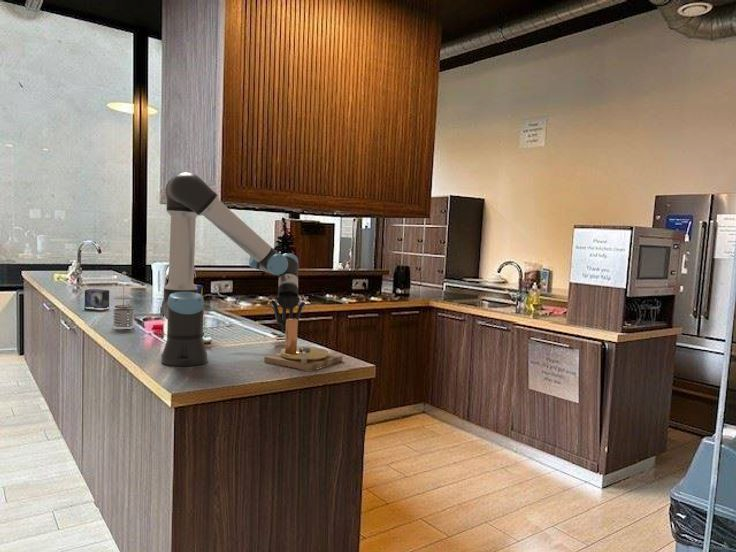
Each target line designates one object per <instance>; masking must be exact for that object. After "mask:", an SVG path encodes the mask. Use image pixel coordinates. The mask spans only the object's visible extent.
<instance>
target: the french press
mask: <svg viewBox="0 0 736 552" xmlns="http://www.w3.org/2000/svg"><path fill="white" fill-rule="evenodd" d="M121 275H127V272H126V271H122V272H121ZM113 299H114V300H122V302H123V303H122V304H120V305H119V304H117V305H114V308H116V309H113V326H116V327H130V326H134V325H133V321H134V320H133V319H134V317H133V316H134V313H135V308H134V304H133V302H132V301H129V302H128V301H126V303H125V302H124V301H125V300H133V299H134V296H133V295H131V294H128V293H125V284H123V291H122V293H119V294H116V295H114V296H113ZM124 303H125V304H124ZM120 324H121V325H120ZM127 324H128V325H129V326H127ZM113 326H112V327H113Z"/></svg>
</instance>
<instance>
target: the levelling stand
mask: <svg viewBox="0 0 736 552" xmlns="http://www.w3.org/2000/svg"><path fill="white" fill-rule="evenodd" d="M280 354H281V352H278V353H273V354H269V355H266V356H264V363H266V364H267V363H268V364H270V363H271V365H275V364H276V365H277V366H280V365H282V366H281V367H285V366H288V367H287V368H290V367H294V368H293V369H295V368H299V369H298V370H300V369H303V370H302V371H305V370H309V371H308V372H310V371H311V372H313V371H312V370H314V371H316V370H315V369H317V368H320V367H323V368H325V367H324V366H326V367H328V366H327V365H329V366H331V365H330V364H332V365H334V364H333V363H335V364H337V363H336V362H338V363H340V362H339V361H341V362H343V359H344V358H343V355H339V354H334V353H329V352H328V357H327V358H326V359H322V360H316V361H307V354H304V353H301V361H297V360H290V359H286V358H283V357H281V355H280ZM320 369H321V368H320ZM317 370H318V369H317Z"/></svg>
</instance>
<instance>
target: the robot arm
mask: <svg viewBox="0 0 736 552" xmlns="http://www.w3.org/2000/svg"><path fill="white" fill-rule="evenodd" d="M164 193H165V196H166V197H165V198H166V213H167V214H169V216H170V223H169V224H170V226H169V227H170V228H169V229H170V230H169V231H170V232H169V261H168V282H167V284H165V286H164V287H163V299H162V303H161V312H162V315H163V316H164V318H165V319H166V320H167V325H166V326H167V328H166V329H167V331H166V333H167V335H166V342H165V345H164V347H163V351H162V353H161V357H160V358H161V359H160V363H162V364H163V365H167V366H173V367H192V366H193V367H194V366H198V365H200V366H201V365H202V364H205V363H207V362H208V352H207V350H206V345H205V342H204V313H205V312H204V311H205V310H204V308H205V299H204V297H203V294H202V295H200V294H198V293H197V289H198V288H197V287H196V286H195V285H196V284H195V283H194V281H195V280H194V276H195V273H194V271H195V253H196V252H195V250H196V249H195V248H196V247H195V246H196V245H195V244H196V225H197V224H196V223H197V222H196V219H197V217H200V216H201V217H202V216H203V217H204V218H206V219H207V220H208V221H209V222H210V223H211V224H213V225H214V226H215V227H216V228H217V229H218V230H220V232H222V234H224V235H225V236H226V237H227V238H229V239H230V240H231V241H232V242H233V243H235V244H236V245H237V246H238V247H239V248H240V249H242V250H243V251H244V252H245V253H246V255H249V260H248V266H249V267H250V268H253V269H255V270H259V271H262V272H265V273H268V274H271V275H274V276H278V286H277V287H278V288H277V290H278V291H277V297H276V299H275V300H272V299H271V300H270V307H271V308H272V309H273V313H274V316H275V320H276V324H277V326H281V333H282V334H284V341H285V340H286V319H287V310H288V319H289V318H293V319H298V321H299V319H300V316H301V313H302V311H303V310H304V309H305V305H306V303H305V301H300V298H299V268H300V267H299V266H300V265H299V259H298V256H297V255H295V254H293V253H292V252H291V253H286V252H285V253H283V254H281V253H279V252H278V251H277V250H275V248H273V247H272V246H271V245H270V244H269V243H268V242H267V241H265V240H264V238H262V237H261V236H260V235H259V234H257V233H256V231H254V230H253V229H252V228H251V227H250V226H249V225H247V224H246V222H244V220H242V219H241V218H239V216H238V215H236V214H235V212H233V211H232V210H231V209H230V208H228V207H227V205H225V204H224V203H223V202H222V201H221V200H220V199H219V195H218V194H217V193H216V192H215V191H214V190H213V189H212V188H211V187H210V186H209V185H208V184H207V182H205V181H204V180H203V179H202V178H201V177H200V176H198V175H197V174H194V173H193V172H181V173H179V174H177V175H174V176H172V177H171V178H170V179H169V180H168V182H167V183H166V185H165V190H164ZM194 284H195V285H194ZM278 305H279V306H278ZM278 307H280V308H281V309H282V317H281V315H280V311H279V308H278ZM296 307H297V310H296V314H295V318H294V316H293V315H294V309H295V308H296ZM281 318H282V319H281Z"/></svg>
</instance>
